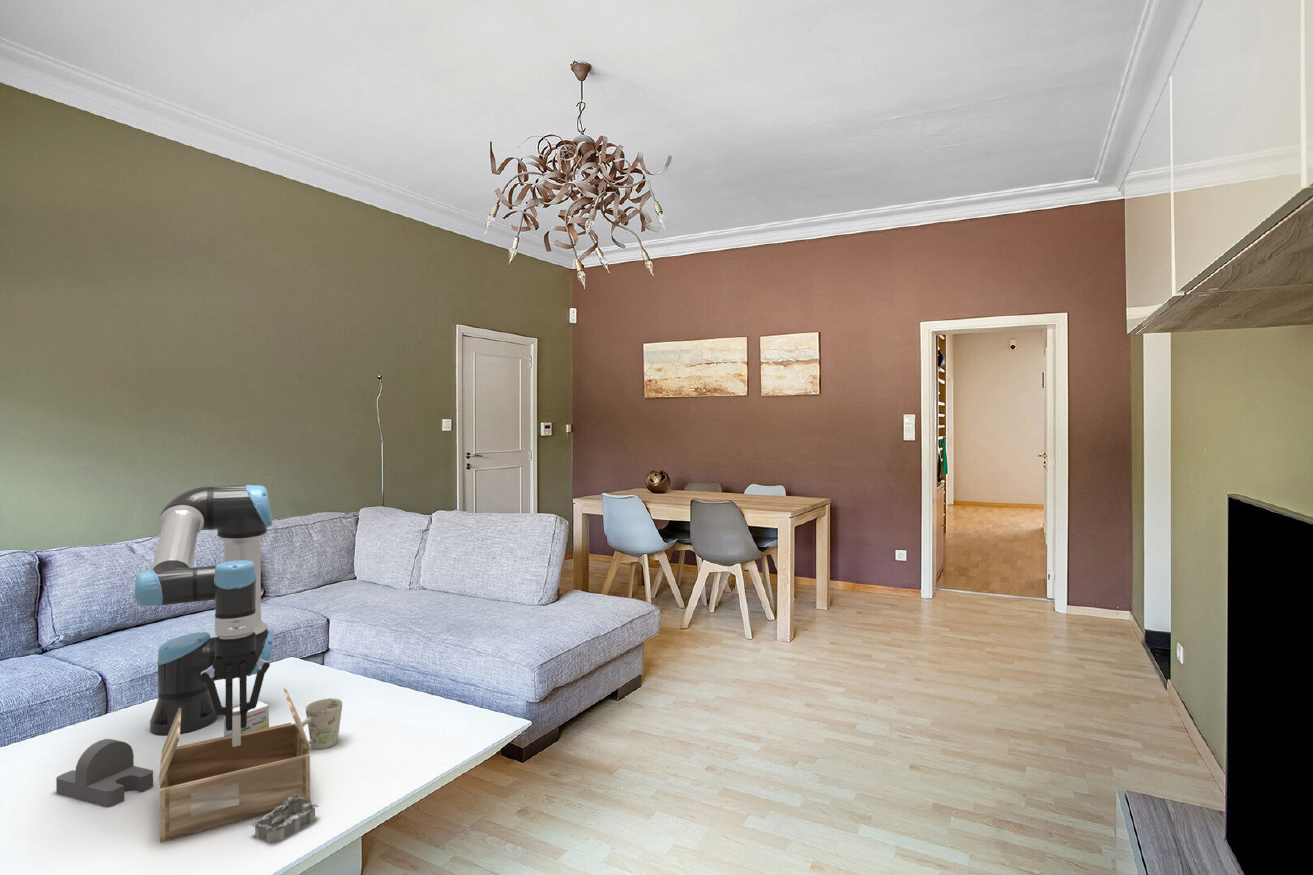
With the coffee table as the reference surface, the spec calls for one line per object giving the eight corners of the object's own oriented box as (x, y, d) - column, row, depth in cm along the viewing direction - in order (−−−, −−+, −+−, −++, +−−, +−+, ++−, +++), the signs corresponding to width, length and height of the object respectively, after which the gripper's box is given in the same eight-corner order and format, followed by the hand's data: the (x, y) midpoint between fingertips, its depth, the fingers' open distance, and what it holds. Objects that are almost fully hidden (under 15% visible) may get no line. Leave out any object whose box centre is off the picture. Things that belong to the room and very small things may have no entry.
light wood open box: (164, 794, 150) (164, 749, 149) (298, 762, 164) (298, 720, 164) (159, 844, 131) (159, 792, 131) (310, 803, 146) (310, 756, 146)
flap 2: (283, 689, 161) (285, 688, 161) (298, 721, 162) (300, 720, 163) (292, 715, 146) (294, 714, 146) (308, 750, 147) (310, 749, 148)
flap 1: (164, 749, 148) (162, 749, 148) (181, 707, 150) (178, 707, 149) (161, 784, 133) (158, 784, 133) (179, 738, 135) (176, 738, 134)
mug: (349, 739, 176) (349, 700, 176) (310, 761, 165) (310, 719, 164) (324, 734, 179) (324, 696, 179) (284, 756, 167) (283, 715, 167)
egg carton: (298, 810, 144) (298, 790, 144) (322, 819, 140) (322, 799, 140) (248, 836, 135) (248, 815, 134) (272, 847, 131) (272, 825, 131)
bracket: (109, 809, 144) (108, 758, 144) (53, 793, 150) (53, 744, 150) (155, 786, 153) (155, 738, 153) (101, 773, 159) (101, 727, 159)
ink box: (233, 765, 163) (233, 715, 163) (223, 759, 166) (223, 711, 165) (270, 751, 170) (269, 703, 170) (259, 746, 173) (259, 699, 173)
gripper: (199, 643, 141) (200, 758, 141) (271, 633, 148) (272, 742, 148) (199, 634, 147) (199, 744, 147) (268, 625, 154) (269, 729, 154)
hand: (236, 743), depth 148 cm, fingers closed
